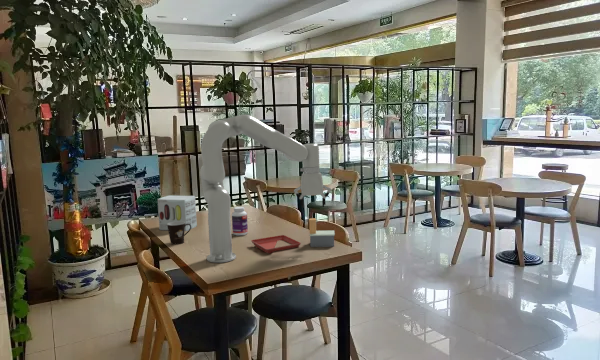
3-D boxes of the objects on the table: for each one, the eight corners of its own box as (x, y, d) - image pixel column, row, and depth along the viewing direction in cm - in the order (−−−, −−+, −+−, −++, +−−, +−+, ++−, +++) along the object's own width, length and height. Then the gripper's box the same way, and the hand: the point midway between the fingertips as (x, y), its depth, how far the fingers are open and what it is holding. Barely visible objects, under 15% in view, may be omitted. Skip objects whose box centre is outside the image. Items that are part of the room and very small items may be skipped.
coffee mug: (168, 245, 221) (167, 226, 219) (168, 241, 229) (167, 222, 227) (192, 243, 224) (191, 223, 222) (192, 239, 232) (190, 220, 231)
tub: (334, 248, 208) (333, 235, 208) (310, 248, 209) (310, 235, 208) (334, 244, 215) (333, 231, 214) (311, 244, 216) (310, 232, 215)
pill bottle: (245, 236, 235) (243, 209, 233) (230, 236, 237) (229, 209, 235) (249, 232, 243) (248, 206, 241) (235, 232, 244) (234, 206, 243)
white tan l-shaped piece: (334, 236, 207) (334, 220, 206) (309, 236, 208) (309, 220, 207) (334, 232, 215) (334, 217, 214) (310, 232, 216) (309, 217, 215)
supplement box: (158, 230, 254) (156, 199, 251) (170, 225, 266) (168, 195, 264) (186, 231, 250) (184, 199, 247) (197, 226, 262) (195, 195, 260)
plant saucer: (301, 249, 209) (301, 242, 209) (266, 256, 200) (266, 248, 200) (283, 241, 225) (283, 234, 224) (250, 246, 216) (250, 240, 216)
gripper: (292, 172, 205) (294, 209, 207) (330, 170, 204) (331, 207, 206) (293, 170, 212) (295, 205, 214) (330, 168, 211) (331, 204, 213)
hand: (313, 206), depth 210 cm, fingers open, 9 cm apart
